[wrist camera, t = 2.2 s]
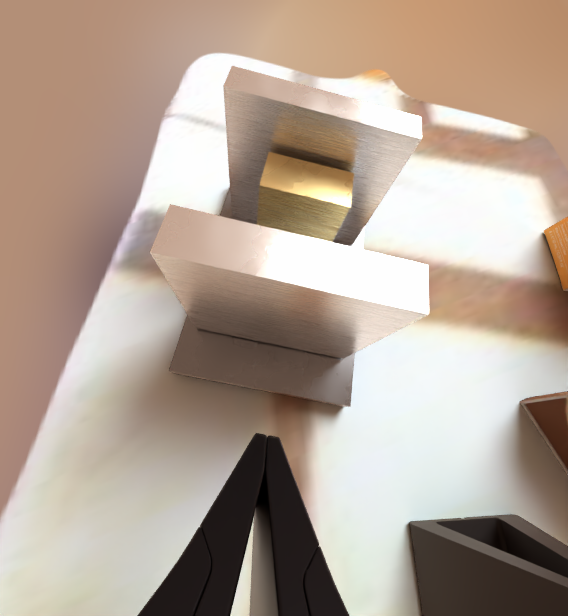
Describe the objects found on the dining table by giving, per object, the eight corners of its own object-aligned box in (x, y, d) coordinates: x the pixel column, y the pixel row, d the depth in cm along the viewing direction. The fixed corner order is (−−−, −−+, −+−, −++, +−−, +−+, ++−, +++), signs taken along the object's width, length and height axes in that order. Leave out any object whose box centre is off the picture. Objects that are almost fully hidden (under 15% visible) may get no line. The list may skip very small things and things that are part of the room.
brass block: (318, 267, 25) (350, 207, 18) (254, 252, 25) (259, 184, 17) (323, 240, 26) (354, 173, 19) (261, 226, 26) (268, 151, 18)
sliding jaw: (343, 358, 22) (428, 314, 12) (195, 327, 21) (149, 252, 11) (346, 329, 23) (427, 264, 13) (204, 299, 22) (170, 204, 12)
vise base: (343, 406, 22) (450, 403, 11) (173, 373, 22) (91, 330, 10) (360, 215, 30) (435, 91, 18) (234, 184, 29) (228, 33, 17)
